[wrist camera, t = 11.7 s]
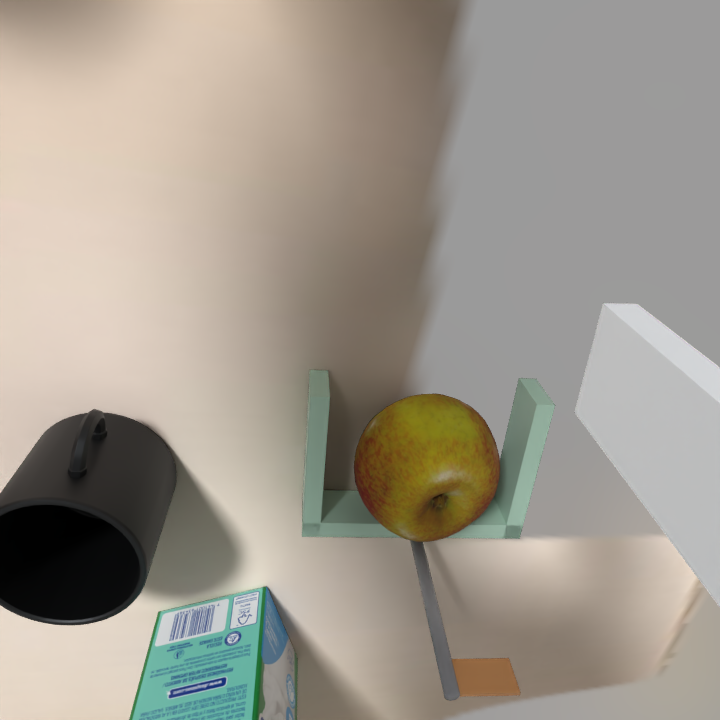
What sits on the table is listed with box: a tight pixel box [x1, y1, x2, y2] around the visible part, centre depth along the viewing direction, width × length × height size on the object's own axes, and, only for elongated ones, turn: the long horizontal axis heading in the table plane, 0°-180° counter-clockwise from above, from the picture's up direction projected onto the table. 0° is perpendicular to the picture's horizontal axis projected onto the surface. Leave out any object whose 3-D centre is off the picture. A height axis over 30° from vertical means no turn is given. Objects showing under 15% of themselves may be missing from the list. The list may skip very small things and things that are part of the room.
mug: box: [0, 409, 176, 625], centre depth 36 cm, size 9×12×9 cm
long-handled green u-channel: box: [302, 370, 555, 701], centre depth 35 cm, size 11×15×16 cm
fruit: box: [354, 394, 500, 542], centre depth 38 cm, size 10×9×8 cm
